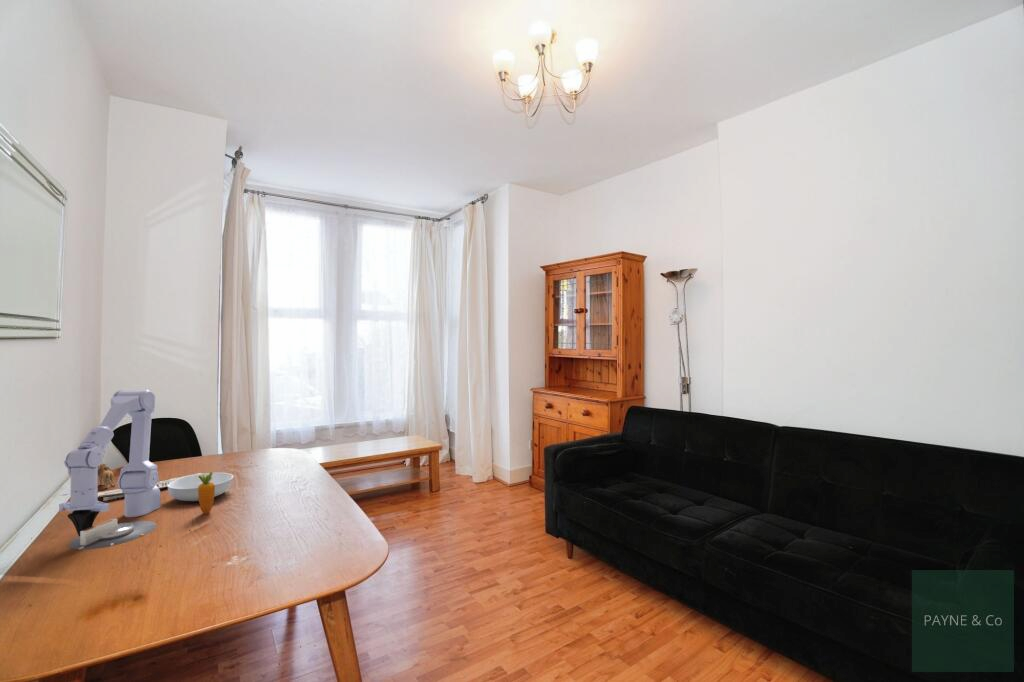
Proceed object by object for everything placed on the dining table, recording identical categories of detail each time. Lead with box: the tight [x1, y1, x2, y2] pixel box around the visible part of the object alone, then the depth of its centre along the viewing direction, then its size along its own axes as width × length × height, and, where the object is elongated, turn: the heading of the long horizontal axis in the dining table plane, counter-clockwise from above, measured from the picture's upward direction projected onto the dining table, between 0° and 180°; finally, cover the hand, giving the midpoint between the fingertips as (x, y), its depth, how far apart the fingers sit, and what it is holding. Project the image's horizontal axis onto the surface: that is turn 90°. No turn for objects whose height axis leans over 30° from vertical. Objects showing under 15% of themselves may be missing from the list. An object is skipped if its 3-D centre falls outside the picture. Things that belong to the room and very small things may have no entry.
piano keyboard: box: [98, 472, 203, 502], centre depth 179 cm, size 35×12×4 cm, turn 143°
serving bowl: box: [167, 472, 234, 502], centre depth 169 cm, size 21×21×7 cm
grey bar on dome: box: [80, 518, 134, 545], centre depth 132 cm, size 14×9×5 cm, turn 174°
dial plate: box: [68, 520, 157, 551], centre depth 134 cm, size 20×20×1 cm
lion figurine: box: [98, 462, 116, 489], centre depth 183 cm, size 15×5×9 cm, turn 64°
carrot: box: [198, 471, 215, 515], centre depth 150 cm, size 5×5×15 cm
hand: (84, 534), depth 128 cm, fingers closed
